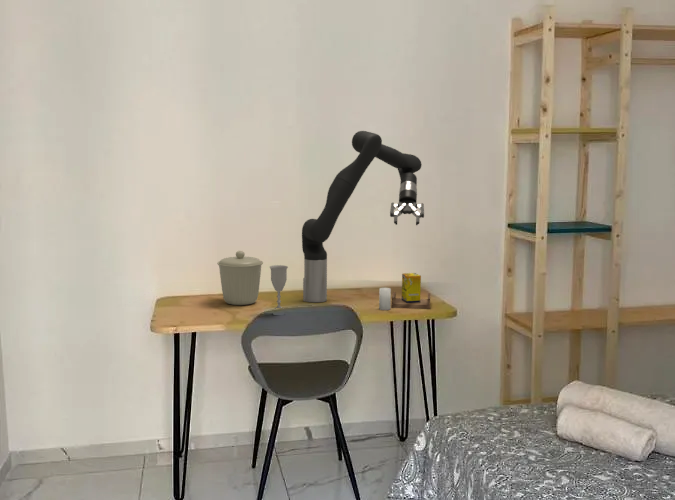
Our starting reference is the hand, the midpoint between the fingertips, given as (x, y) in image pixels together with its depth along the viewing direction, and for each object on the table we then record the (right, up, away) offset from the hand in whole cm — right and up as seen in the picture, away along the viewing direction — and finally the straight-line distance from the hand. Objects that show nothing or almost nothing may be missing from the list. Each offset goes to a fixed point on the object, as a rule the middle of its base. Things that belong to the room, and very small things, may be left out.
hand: (406, 223), depth 316 cm
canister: (-68, -32, -11) cm, 76 cm away
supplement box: (0, -32, -13) cm, 34 cm away
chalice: (-51, -35, -30) cm, 69 cm away
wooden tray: (+1, -33, -13) cm, 35 cm away
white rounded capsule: (-10, -34, -20) cm, 41 cm away
